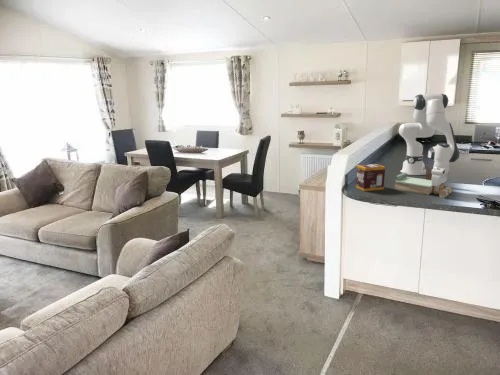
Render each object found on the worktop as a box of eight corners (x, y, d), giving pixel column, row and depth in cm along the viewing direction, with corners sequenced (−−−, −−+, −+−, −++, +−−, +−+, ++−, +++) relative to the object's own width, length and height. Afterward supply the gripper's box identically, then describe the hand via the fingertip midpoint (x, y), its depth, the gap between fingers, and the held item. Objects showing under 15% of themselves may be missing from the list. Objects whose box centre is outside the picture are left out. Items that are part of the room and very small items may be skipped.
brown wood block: (435, 191, 254) (436, 182, 252) (443, 193, 250) (444, 183, 249) (433, 193, 251) (434, 183, 249) (441, 194, 248) (442, 184, 246)
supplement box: (355, 187, 267) (356, 165, 263) (375, 185, 271) (376, 163, 267) (363, 191, 257) (364, 168, 253) (383, 189, 261) (385, 166, 257)
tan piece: (403, 184, 272) (403, 178, 271) (451, 192, 253) (452, 185, 251) (394, 189, 261) (395, 182, 260) (444, 197, 241) (445, 190, 240)
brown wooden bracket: (424, 184, 272) (427, 159, 267) (441, 186, 267) (444, 160, 263) (424, 185, 269) (427, 159, 264) (441, 187, 264) (444, 161, 260)
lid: (403, 177, 271) (404, 172, 270) (437, 182, 257) (438, 176, 256) (394, 182, 260) (395, 176, 259) (430, 187, 245) (430, 181, 244)
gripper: (440, 165, 256) (438, 186, 260) (430, 171, 241) (428, 192, 245) (451, 167, 252) (448, 187, 256) (441, 172, 237) (438, 194, 241)
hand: (438, 190), depth 250 cm, fingers closed on brown wood block, 4 cm apart
